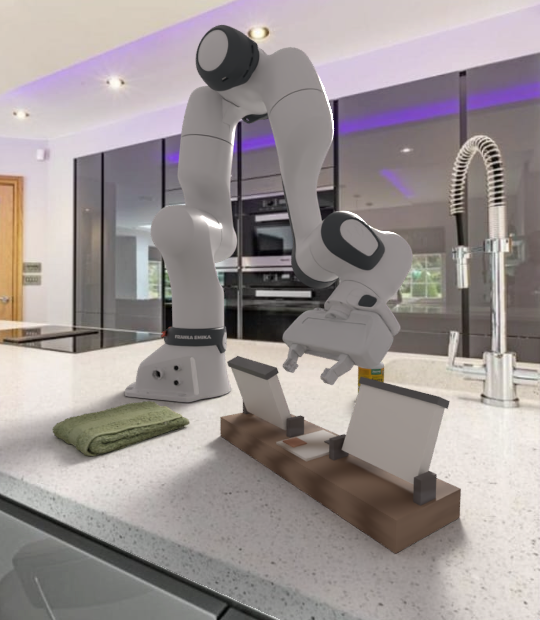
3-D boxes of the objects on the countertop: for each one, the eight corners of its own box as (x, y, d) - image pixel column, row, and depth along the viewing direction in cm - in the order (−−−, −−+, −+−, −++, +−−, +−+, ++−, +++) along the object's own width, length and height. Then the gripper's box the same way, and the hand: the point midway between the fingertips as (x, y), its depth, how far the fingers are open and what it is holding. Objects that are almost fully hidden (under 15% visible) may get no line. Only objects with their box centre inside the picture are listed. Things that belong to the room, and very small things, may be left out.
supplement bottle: (369, 392, 89) (370, 348, 89) (389, 397, 85) (390, 352, 84) (352, 395, 86) (352, 350, 86) (371, 401, 82) (372, 354, 81)
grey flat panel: (339, 448, 47) (360, 376, 49) (350, 451, 48) (370, 380, 50) (415, 485, 39) (439, 396, 40) (427, 488, 40) (449, 401, 41)
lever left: (245, 411, 63) (226, 361, 61) (255, 404, 64) (237, 355, 62) (285, 431, 55) (265, 374, 52) (295, 423, 56) (276, 367, 53)
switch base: (220, 435, 63) (220, 401, 62) (273, 423, 68) (273, 392, 68) (395, 553, 35) (397, 493, 35) (459, 517, 41) (461, 465, 41)
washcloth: (193, 428, 67) (193, 409, 67) (88, 464, 54) (87, 440, 53) (149, 411, 76) (148, 394, 75) (48, 438, 62) (47, 418, 62)
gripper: (302, 296, 75) (257, 352, 70) (391, 300, 58) (340, 375, 53) (320, 319, 78) (278, 375, 73) (410, 329, 61) (363, 403, 56)
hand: (305, 375), depth 63 cm, fingers open, 8 cm apart
